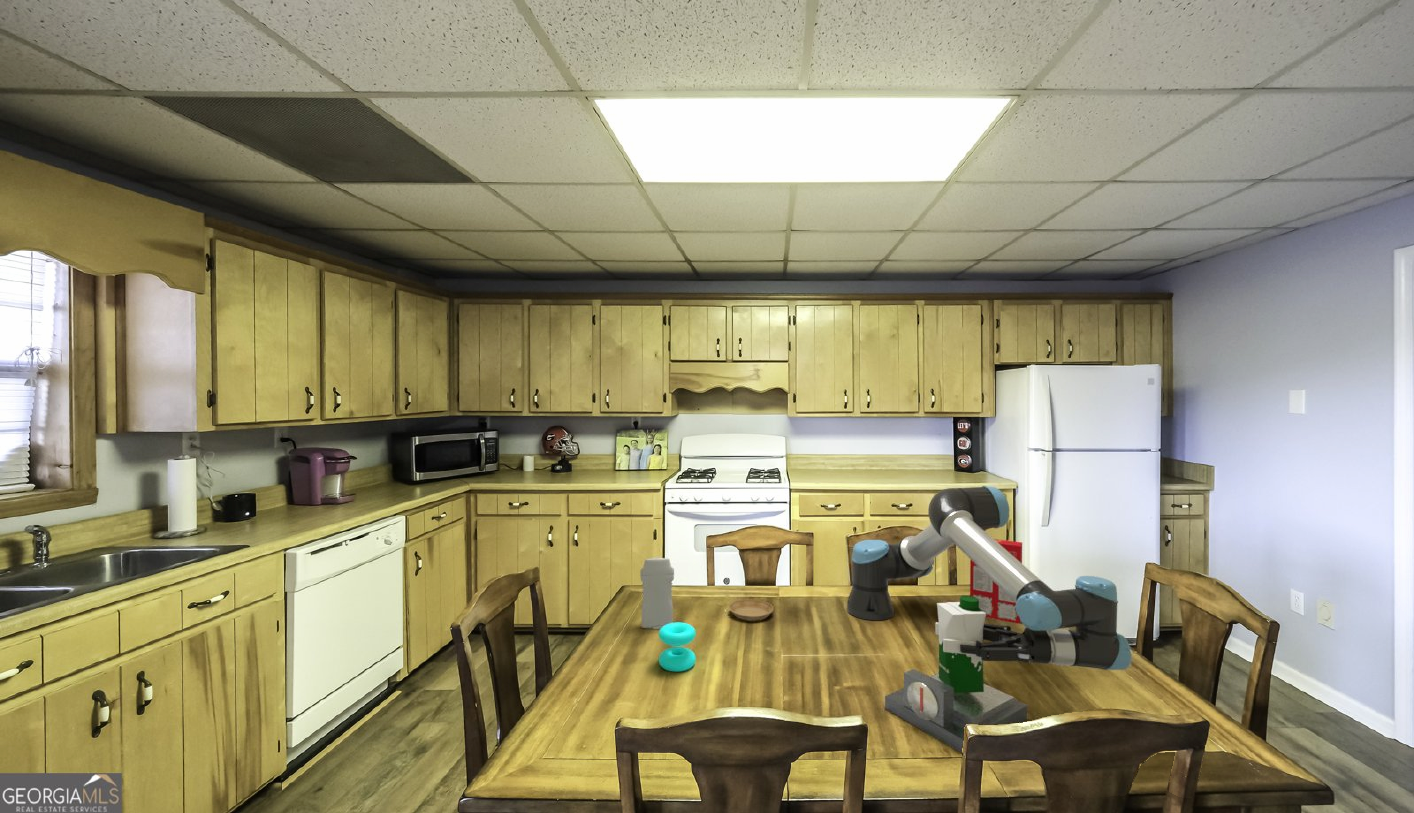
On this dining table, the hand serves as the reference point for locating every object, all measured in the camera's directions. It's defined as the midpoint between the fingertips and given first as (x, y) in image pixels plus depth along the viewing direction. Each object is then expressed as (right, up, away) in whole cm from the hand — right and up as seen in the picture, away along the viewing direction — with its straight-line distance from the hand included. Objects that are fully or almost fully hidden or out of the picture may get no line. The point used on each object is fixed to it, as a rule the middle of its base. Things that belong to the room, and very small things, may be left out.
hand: (939, 636), depth 131 cm
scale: (+3, -17, -2) cm, 17 cm away
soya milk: (+5, -11, -1) cm, 12 cm away
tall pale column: (-70, -16, +47) cm, 86 cm away
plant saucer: (-39, -16, +57) cm, 71 cm away
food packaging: (+41, -16, +55) cm, 71 cm away
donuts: (-62, -17, +22) cm, 68 cm away
